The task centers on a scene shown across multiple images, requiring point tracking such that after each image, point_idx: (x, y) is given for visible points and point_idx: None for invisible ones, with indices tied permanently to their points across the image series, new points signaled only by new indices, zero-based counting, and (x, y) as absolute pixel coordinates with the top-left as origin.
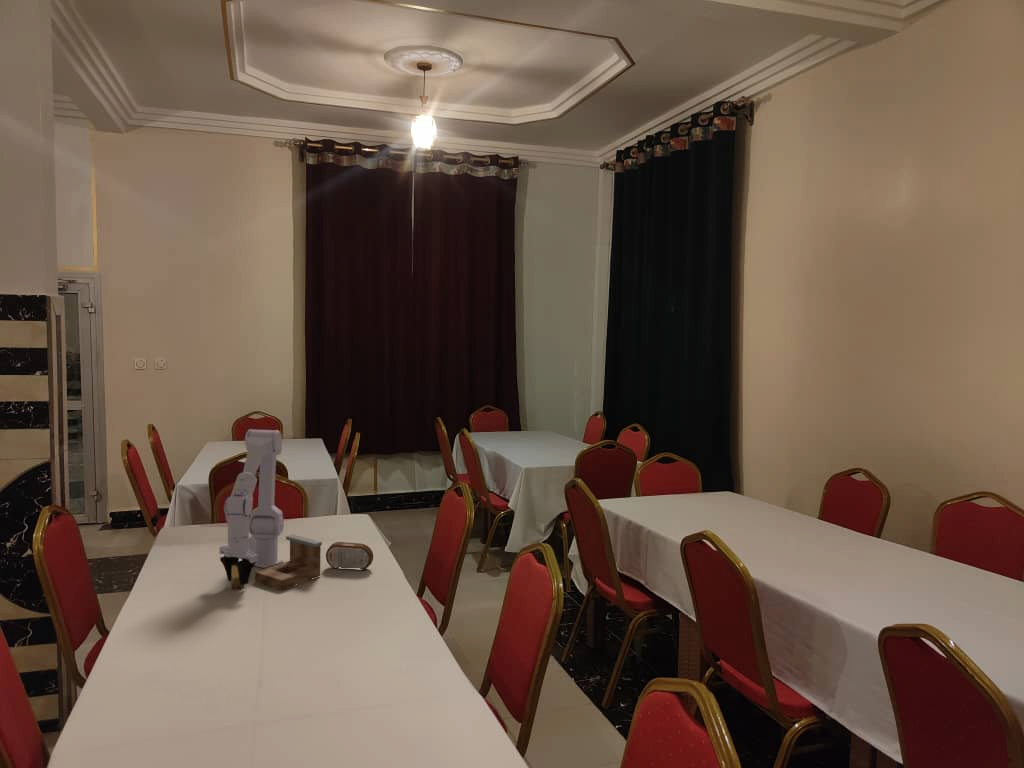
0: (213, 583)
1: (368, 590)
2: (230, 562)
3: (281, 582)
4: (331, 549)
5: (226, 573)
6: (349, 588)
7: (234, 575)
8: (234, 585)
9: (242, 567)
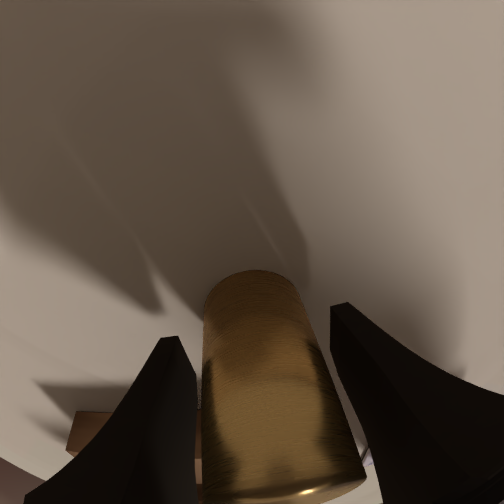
0: (448, 224)
1: (30, 462)
2: (407, 464)
3: (73, 441)
4: None
5: (388, 335)
6: (48, 462)
7: (231, 376)
8: (229, 300)
9: (46, 488)
